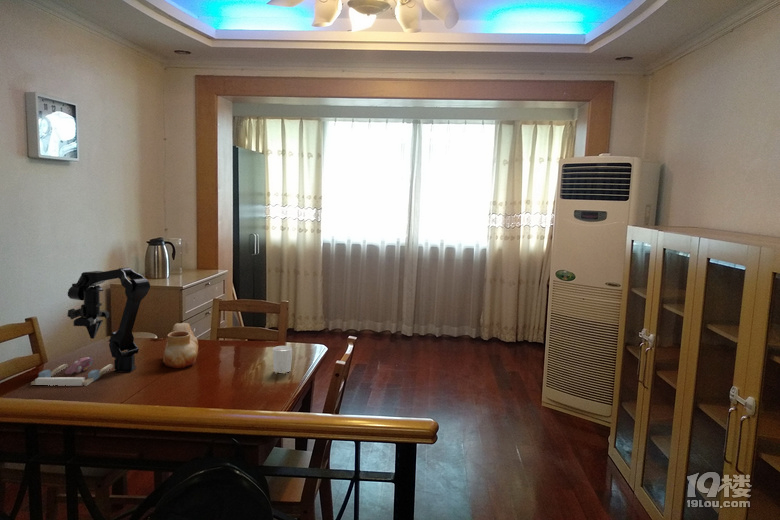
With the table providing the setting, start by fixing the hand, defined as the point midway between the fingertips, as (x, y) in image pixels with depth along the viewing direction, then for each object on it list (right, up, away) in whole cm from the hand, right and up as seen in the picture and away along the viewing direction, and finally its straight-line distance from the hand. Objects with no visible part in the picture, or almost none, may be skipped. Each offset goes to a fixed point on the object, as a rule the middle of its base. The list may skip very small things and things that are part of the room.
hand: (92, 338), depth 211 cm
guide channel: (+1, -12, -14) cm, 19 cm away
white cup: (+79, -14, 0) cm, 80 cm away
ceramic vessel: (+33, -12, +11) cm, 36 cm away
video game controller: (0, -12, -9) cm, 15 cm away
